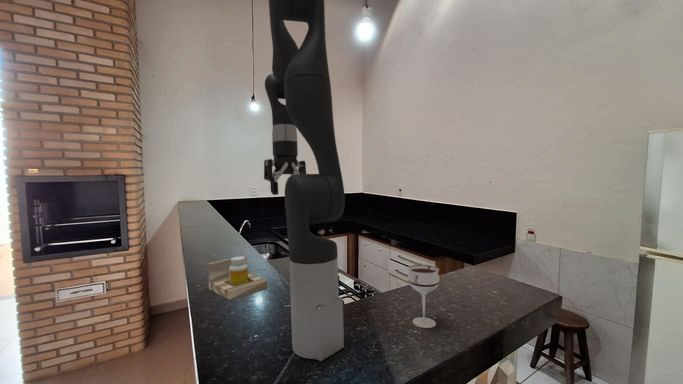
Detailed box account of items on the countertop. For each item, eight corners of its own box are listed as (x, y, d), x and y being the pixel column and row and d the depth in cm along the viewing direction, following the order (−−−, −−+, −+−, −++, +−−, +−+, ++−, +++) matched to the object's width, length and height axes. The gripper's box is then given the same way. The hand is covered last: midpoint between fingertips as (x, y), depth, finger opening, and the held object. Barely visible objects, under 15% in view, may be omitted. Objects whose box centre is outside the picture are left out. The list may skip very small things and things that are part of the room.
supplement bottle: (227, 289, 90) (225, 258, 89) (244, 285, 93) (243, 254, 93) (233, 294, 86) (232, 261, 85) (251, 289, 89) (250, 258, 89)
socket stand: (267, 288, 90) (266, 262, 89) (229, 300, 81) (228, 271, 81) (245, 278, 99) (244, 255, 99) (208, 289, 90) (207, 263, 90)
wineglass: (431, 314, 70) (430, 263, 69) (446, 328, 63) (445, 272, 62) (403, 317, 68) (402, 265, 68) (416, 331, 62) (415, 274, 61)
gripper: (272, 137, 83) (274, 195, 83) (310, 141, 93) (312, 193, 94) (257, 140, 88) (259, 195, 88) (295, 144, 98) (297, 193, 99)
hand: (286, 194), depth 91 cm, fingers open, 8 cm apart
